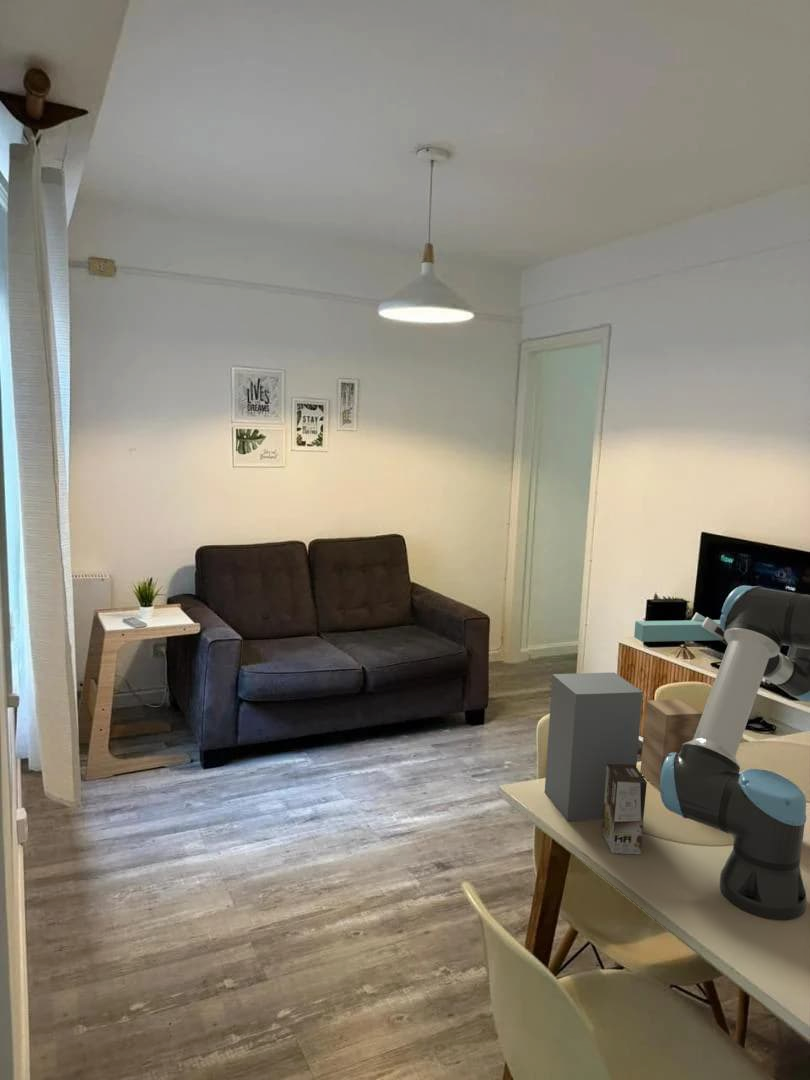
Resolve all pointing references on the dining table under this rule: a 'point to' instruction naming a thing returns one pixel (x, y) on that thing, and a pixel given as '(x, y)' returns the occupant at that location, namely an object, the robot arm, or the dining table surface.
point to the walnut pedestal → (665, 733)
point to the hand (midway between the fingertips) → (699, 619)
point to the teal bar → (673, 631)
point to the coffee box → (624, 808)
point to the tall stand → (589, 739)
